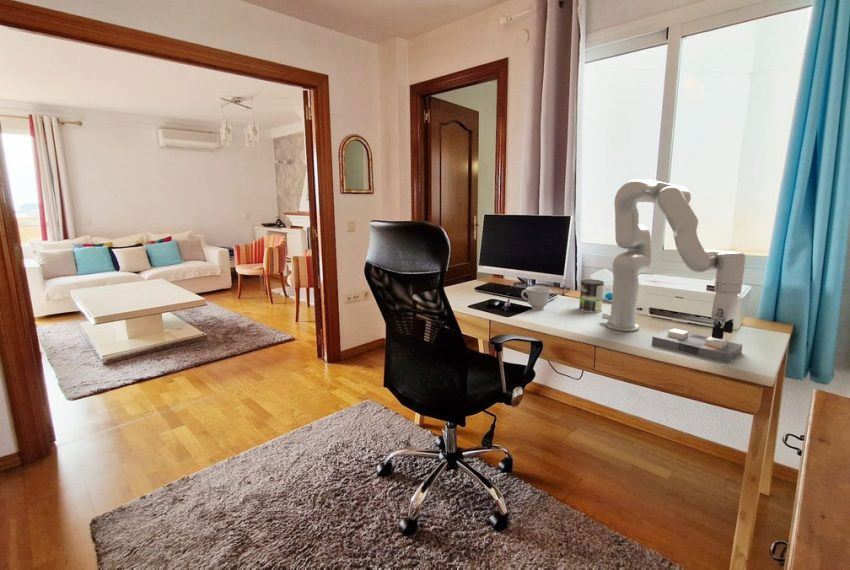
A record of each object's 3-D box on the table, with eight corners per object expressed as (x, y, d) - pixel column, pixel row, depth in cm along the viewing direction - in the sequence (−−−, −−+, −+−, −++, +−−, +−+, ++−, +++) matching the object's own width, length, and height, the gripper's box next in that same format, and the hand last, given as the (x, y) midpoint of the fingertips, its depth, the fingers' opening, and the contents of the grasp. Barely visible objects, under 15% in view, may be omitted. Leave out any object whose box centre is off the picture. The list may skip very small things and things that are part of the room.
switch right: (704, 347, 146) (705, 339, 146) (709, 343, 149) (710, 336, 149) (721, 351, 142) (722, 342, 142) (726, 347, 145) (727, 339, 145)
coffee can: (584, 313, 197) (586, 283, 194) (575, 307, 208) (577, 279, 205) (605, 312, 198) (608, 283, 195) (596, 306, 208) (598, 279, 205)
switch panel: (651, 344, 156) (652, 336, 155) (667, 336, 164) (668, 328, 164) (728, 363, 137) (729, 354, 137) (741, 352, 146) (742, 344, 145)
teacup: (515, 306, 210) (516, 287, 208) (542, 304, 213) (543, 285, 211) (526, 313, 199) (527, 292, 197) (555, 310, 202) (556, 290, 200)
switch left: (667, 338, 155) (668, 331, 155) (673, 335, 158) (673, 328, 158) (682, 341, 151) (683, 334, 151) (687, 338, 155) (688, 331, 154)
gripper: (723, 282, 152) (718, 327, 156) (706, 289, 142) (700, 338, 145) (748, 285, 147) (742, 332, 150) (732, 293, 136) (726, 343, 139)
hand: (721, 335), depth 148 cm, fingers open, 9 cm apart
